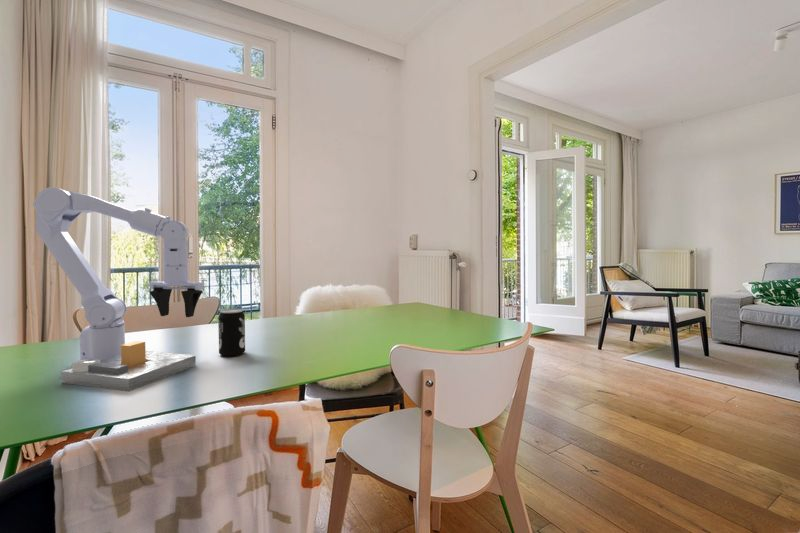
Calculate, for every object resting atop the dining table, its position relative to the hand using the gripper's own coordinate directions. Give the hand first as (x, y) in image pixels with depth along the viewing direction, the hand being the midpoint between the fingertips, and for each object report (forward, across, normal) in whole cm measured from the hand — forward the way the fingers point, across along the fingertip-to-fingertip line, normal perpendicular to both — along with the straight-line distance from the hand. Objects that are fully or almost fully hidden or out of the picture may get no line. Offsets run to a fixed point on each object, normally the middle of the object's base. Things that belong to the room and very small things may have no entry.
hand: (177, 316), depth 107 cm
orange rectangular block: (+10, +2, -16) cm, 19 cm away
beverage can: (+11, +14, +3) cm, 18 cm away
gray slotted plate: (+10, +2, -16) cm, 19 cm away
